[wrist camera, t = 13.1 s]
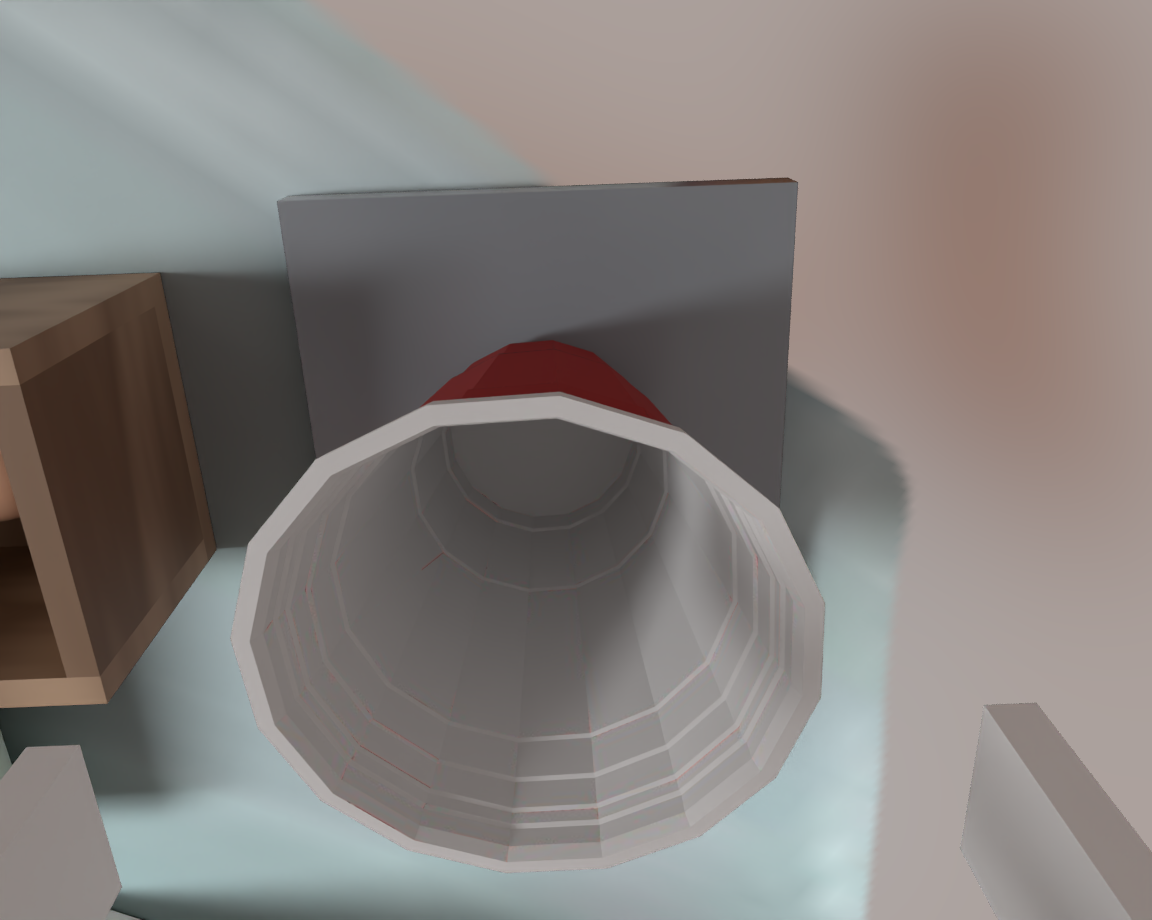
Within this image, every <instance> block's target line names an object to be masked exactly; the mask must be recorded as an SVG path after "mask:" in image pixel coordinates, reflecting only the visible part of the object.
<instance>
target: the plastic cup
mask: <svg viewBox="0 0 1152 920" xmlns="http://www.w3.org/2000/svg"><path fill="white" fill-rule="evenodd" d="M824 615H825V602H824V600H823V598H822V596H821V594H820V592H819V590H818V588H817V585H816V583H815V581H814V579H813V577H812V575H811V573H810V571H809V569H808V567H807V565H806V563H805V561H804V558H803V556H802V554H801V552H800V550H799V548H798V546H797V544H796V542H795V540H794V538H793V536H792V534H791V531H790V529H789V527H788V525H787V523H786V521H785V519H784V517H783V515H782V513H781V511H780V509H779V508H778V507H777V506H776V505H775V504H773V503H772V502H771V501H770V500H769V499H768V498H766V497H765V496H764V495H763V494H761V493H760V492H759V491H758V490H756V489H755V488H754V487H753V486H752V485H750V484H749V483H748V482H747V481H745V480H744V479H743V478H742V477H740V476H739V475H738V474H737V473H735V472H734V471H733V470H732V469H730V468H729V467H728V466H727V465H726V464H724V463H723V462H722V461H721V460H719V459H718V458H717V457H716V456H714V455H713V454H712V453H711V452H709V451H708V450H707V449H706V448H704V447H703V446H702V445H701V444H700V443H698V442H697V441H696V440H695V439H693V438H692V437H691V436H690V435H688V434H687V433H686V432H685V431H683V430H682V429H681V428H679V427H676V426H673V425H672V424H671V423H670V422H669V421H668V420H667V419H666V418H665V417H664V415H663V414H662V413H661V412H660V411H659V410H658V409H657V408H656V407H655V405H654V404H653V403H652V402H651V401H650V400H649V399H648V398H647V397H646V396H645V395H644V394H642V393H641V392H640V391H639V390H637V389H636V388H635V387H634V386H633V385H631V384H630V383H629V382H628V381H627V380H626V379H625V378H624V377H623V376H622V375H620V374H619V373H618V372H617V371H615V370H614V369H613V368H612V367H610V366H609V365H608V364H607V363H606V362H604V361H603V360H602V359H601V358H599V357H598V356H597V355H596V354H595V353H593V352H590V351H587V350H584V349H581V348H577V347H574V346H571V345H567V344H564V343H561V342H557V341H554V340H547V341H536V342H525V343H513V344H509V345H507V346H505V347H503V348H501V349H499V350H497V351H495V352H493V353H491V354H489V355H487V356H485V357H483V358H481V359H479V360H478V361H476V362H474V363H472V364H471V365H470V366H469V367H468V368H467V369H466V370H465V371H464V372H463V373H461V374H459V375H457V376H455V377H453V378H451V379H450V380H449V381H448V382H447V383H446V384H445V385H444V386H442V387H441V388H440V389H439V390H438V391H437V392H436V393H435V394H434V395H433V396H431V397H430V398H429V399H428V400H427V401H426V402H425V403H424V404H423V405H422V406H421V407H419V408H418V409H416V410H414V411H412V412H410V413H408V414H406V415H404V416H402V417H400V418H398V419H396V420H394V421H392V422H390V423H388V424H386V425H384V426H382V427H380V428H377V429H375V430H373V431H371V432H369V433H367V434H365V435H363V436H361V437H359V438H357V439H355V440H353V441H351V442H349V443H347V444H345V445H343V446H341V447H339V448H337V449H335V450H333V451H331V452H329V453H327V454H325V455H323V456H321V457H320V458H318V459H316V460H315V461H314V462H313V464H312V465H311V466H310V467H309V469H308V470H307V471H306V472H305V474H304V475H303V476H302V477H301V478H300V480H299V481H298V482H297V483H296V485H295V486H294V487H293V488H292V490H291V491H290V492H289V493H288V495H287V496H286V497H285V498H284V500H283V501H282V502H281V503H280V505H279V506H278V507H277V508H276V510H275V511H274V512H273V513H272V515H271V516H270V517H269V518H268V519H267V521H266V522H265V523H264V524H263V526H262V527H261V528H260V529H259V531H258V532H257V533H256V534H255V536H254V537H253V538H252V539H251V541H250V542H249V543H248V547H247V552H246V557H245V563H244V568H243V573H242V579H241V584H240V589H239V595H238V600H237V606H236V611H235V616H234V622H233V627H232V632H231V638H230V639H231V643H232V646H233V649H234V652H235V655H236V659H237V662H238V665H239V668H240V672H241V675H242V678H243V681H244V684H245V688H246V691H247V694H248V697H249V701H250V704H251V707H252V710H253V714H254V717H255V720H256V723H257V726H258V729H259V730H260V731H261V732H262V733H263V734H264V736H265V737H266V738H267V739H268V740H269V741H270V743H271V744H272V745H273V746H274V747H275V748H276V749H277V751H278V752H279V753H280V754H281V755H282V756H283V758H284V759H285V760H286V761H287V762H288V763H289V764H290V766H291V767H292V768H293V769H294V770H295V771H296V773H297V774H298V775H299V776H300V777H301V778H302V779H303V781H304V782H305V783H306V784H307V785H308V786H309V788H310V789H311V790H312V791H313V792H314V793H315V795H316V796H317V797H318V798H319V799H320V800H321V801H322V802H324V803H326V804H328V805H329V806H331V807H333V808H335V809H336V810H338V811H340V812H342V813H343V814H345V815H347V816H349V817H350V818H352V819H354V820H356V821H357V822H359V823H361V824H363V825H364V826H366V827H368V828H370V829H371V830H373V831H375V832H376V833H378V834H380V835H382V836H383V837H385V838H387V839H389V840H390V841H392V842H394V843H396V844H397V845H399V846H401V847H403V848H404V849H406V850H409V851H413V852H418V853H422V854H426V855H431V856H435V857H439V858H444V859H448V860H452V861H456V862H461V863H465V864H469V865H474V866H478V867H482V868H487V869H491V870H495V871H499V872H504V873H517V872H539V871H561V870H583V869H605V868H610V867H613V866H616V865H618V864H621V863H624V862H627V861H630V860H633V859H636V858H639V857H642V856H645V855H647V854H650V853H653V852H656V851H659V850H662V849H665V848H668V847H671V846H674V845H676V844H679V843H682V842H685V841H688V840H691V839H694V838H697V837H700V836H701V835H703V834H704V833H705V832H707V831H708V830H709V829H710V828H712V827H713V826H714V825H716V824H717V823H718V822H719V821H721V820H722V819H723V818H725V817H726V816H727V815H729V814H730V813H731V812H732V811H734V810H735V809H736V808H738V807H739V806H740V805H741V804H743V803H744V802H745V801H747V800H748V799H749V798H750V797H752V796H753V795H754V794H756V793H757V792H758V791H759V790H761V789H762V788H763V787H765V786H766V785H767V784H768V783H770V782H771V781H772V780H774V779H775V778H776V777H777V775H778V773H779V771H780V769H781V768H782V766H783V764H784V762H785V761H786V759H787V757H788V755H789V753H790V752H791V750H792V748H793V746H794V745H795V743H796V741H797V739H798V737H799V736H800V734H801V732H802V730H803V729H804V727H805V725H806V723H807V721H808V720H809V718H810V716H811V714H812V713H813V711H814V709H815V707H816V705H817V704H818V702H819V700H820V698H821V686H822V663H823V639H824Z"/></svg>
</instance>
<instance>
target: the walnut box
mask: <svg viewBox="0 0 1152 920" xmlns="http://www.w3.org/2000/svg"><path fill="white" fill-rule="evenodd" d="M0 450H1V454H2V457H3V461H4V464H5V468H6V471H7V474H8V478H9V481H10V485H11V488H12V492H13V495H14V498H15V502H16V505H17V509H18V512H19V516H20V518H17V519H13V520H8V521H1V522H0V708H13V707H37V706H62V705H87V704H108V702H109V701H110V699H111V698H112V697H113V695H114V694H115V692H116V691H117V690H118V688H119V687H120V685H121V684H122V683H123V681H124V680H125V678H126V677H127V675H128V674H129V673H130V671H131V670H132V668H133V667H134V666H135V664H136V663H137V661H138V660H139V659H140V657H141V656H142V654H143V653H144V651H145V650H146V649H147V647H148V646H149V644H150V643H151V642H152V640H153V639H154V637H155V636H156V635H157V633H158V632H159V630H160V629H161V627H162V626H163V625H164V623H165V622H166V620H167V619H168V618H169V616H170V615H171V613H172V612H173V611H174V609H175V608H176V606H177V605H178V603H179V602H180V601H181V599H182V598H183V596H184V595H185V594H186V592H187V591H188V589H189V588H190V587H191V585H192V584H193V582H194V581H195V579H196V578H197V577H198V575H199V574H200V572H201V571H202V570H203V568H204V567H205V565H206V564H207V563H208V561H209V560H210V558H211V557H212V555H213V554H214V553H215V551H216V550H217V549H216V544H215V539H214V534H213V529H212V524H211V520H210V515H209V510H208V505H207V500H206V495H205V490H204V485H203V480H202V476H201V471H200V466H199V461H198V456H197V451H196V446H195V441H194V436H193V432H192V427H191V422H190V417H189V412H188V407H187V402H186V397H185V393H184V388H183V383H182V378H181V373H180V368H179V363H178V358H177V353H176V349H175V344H174V339H173V334H172V329H171V324H170V319H169V314H168V309H167V305H166V300H165V295H164V290H163V285H162V280H161V275H160V273H136V274H109V275H82V276H55V277H28V278H1V279H0Z"/></svg>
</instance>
